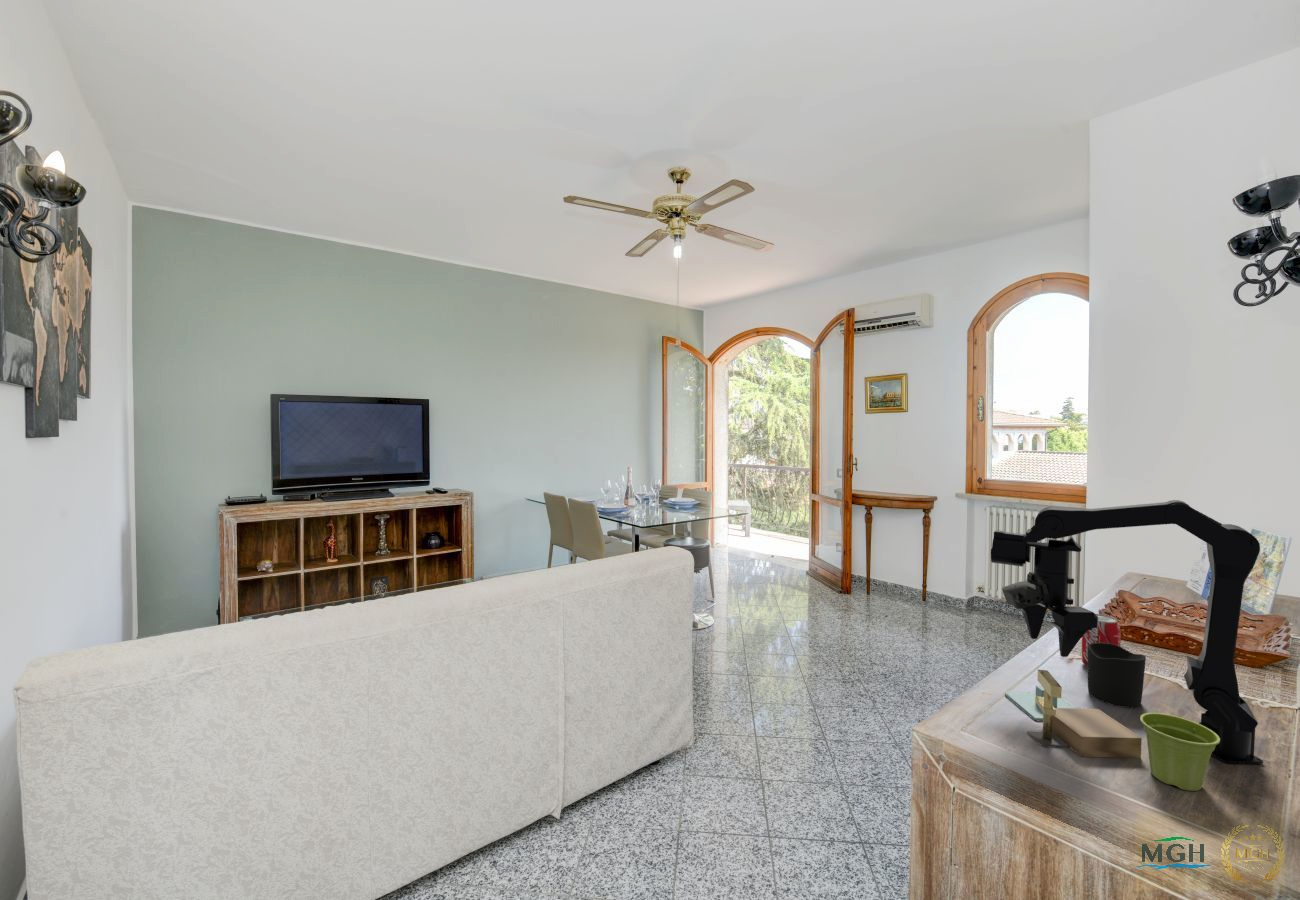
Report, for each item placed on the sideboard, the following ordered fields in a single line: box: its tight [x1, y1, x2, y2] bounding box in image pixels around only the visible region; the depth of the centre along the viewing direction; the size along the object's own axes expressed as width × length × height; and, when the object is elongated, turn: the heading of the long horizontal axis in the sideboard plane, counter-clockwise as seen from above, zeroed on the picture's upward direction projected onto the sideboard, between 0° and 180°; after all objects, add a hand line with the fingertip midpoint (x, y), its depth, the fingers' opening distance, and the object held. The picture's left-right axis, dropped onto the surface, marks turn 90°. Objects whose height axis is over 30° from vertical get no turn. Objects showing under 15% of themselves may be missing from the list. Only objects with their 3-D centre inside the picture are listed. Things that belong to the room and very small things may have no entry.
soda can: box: [1081, 613, 1122, 668], centre depth 134 cm, size 7×7×12 cm
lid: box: [1004, 685, 1076, 722], centre depth 115 cm, size 10×10×5 cm
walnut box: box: [1026, 707, 1143, 759], centre depth 103 cm, size 15×10×4 cm
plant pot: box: [1139, 712, 1220, 792], centre depth 92 cm, size 9×9×9 cm
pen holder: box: [1087, 643, 1147, 708], centre depth 119 cm, size 9×9×10 cm
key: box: [1035, 669, 1063, 740], centre depth 104 cm, size 8×2×11 cm, turn 162°
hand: (1048, 647), depth 115 cm, fingers open, 9 cm apart
